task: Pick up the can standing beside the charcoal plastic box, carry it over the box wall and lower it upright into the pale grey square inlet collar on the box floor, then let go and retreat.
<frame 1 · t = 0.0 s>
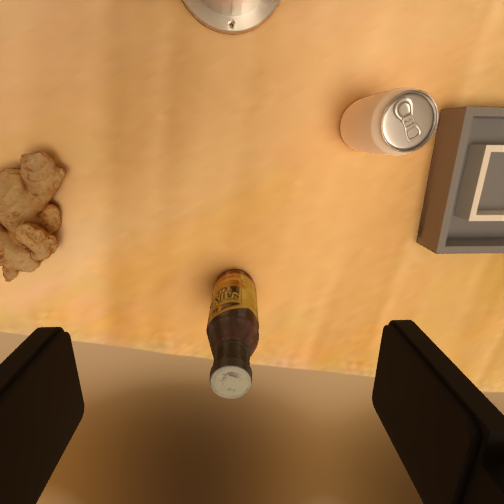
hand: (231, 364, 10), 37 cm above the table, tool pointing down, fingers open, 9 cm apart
can: (362, 125, 43), on the table
ginger root: (27, 216, 45), on the table
sauce bottle: (233, 287, 50), on the table
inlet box: (490, 180, 46), on the table
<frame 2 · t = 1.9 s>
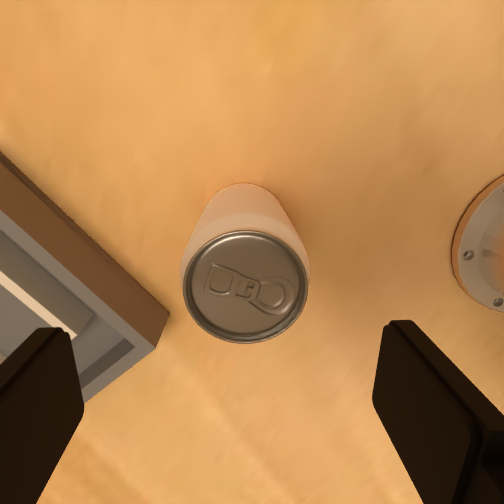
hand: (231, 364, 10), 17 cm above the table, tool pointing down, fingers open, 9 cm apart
can: (243, 222, 26), on the table
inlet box: (16, 302, 28), on the table
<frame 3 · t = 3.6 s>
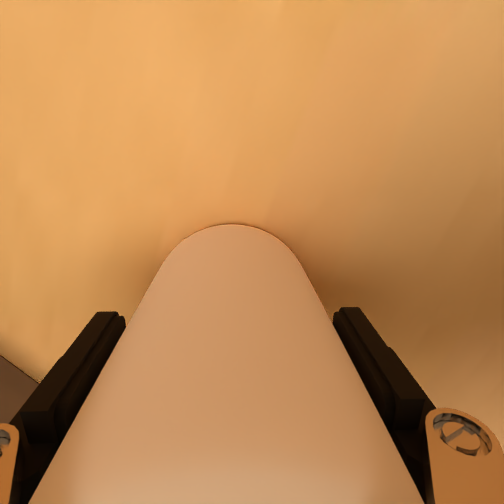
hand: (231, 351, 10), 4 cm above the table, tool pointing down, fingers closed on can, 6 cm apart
can: (232, 290, 15), on the table, touching gripper
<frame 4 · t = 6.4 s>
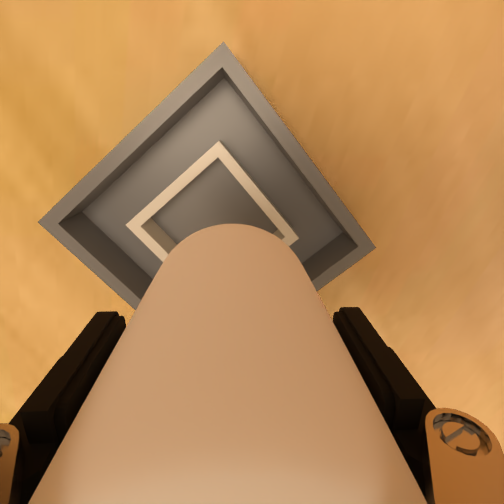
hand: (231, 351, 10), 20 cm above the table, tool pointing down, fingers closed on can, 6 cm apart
can: (232, 290, 15), point 16 cm above the table, touching gripper
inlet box: (216, 219, 30), on the table
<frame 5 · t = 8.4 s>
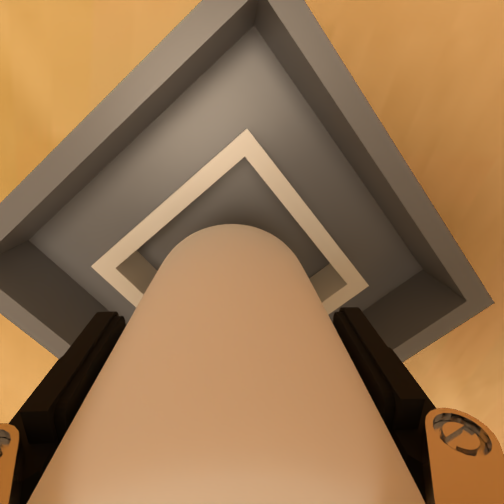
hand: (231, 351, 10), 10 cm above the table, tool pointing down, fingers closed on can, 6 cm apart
can: (232, 290, 15), point 6 cm above the table, touching gripper
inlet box: (234, 249, 20), on the table
when the fingers open (6 cm above the table, at t = 9.7 s): can stays where it is, resting on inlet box.
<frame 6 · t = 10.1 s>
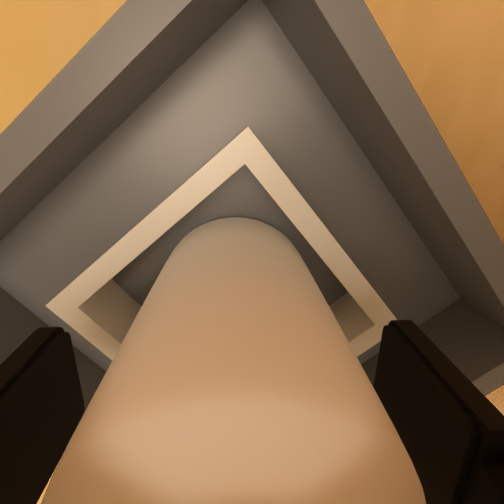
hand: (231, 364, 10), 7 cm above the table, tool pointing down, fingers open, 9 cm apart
can: (235, 280, 16), point 1 cm above the table, touching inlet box
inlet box: (232, 274, 16), on the table
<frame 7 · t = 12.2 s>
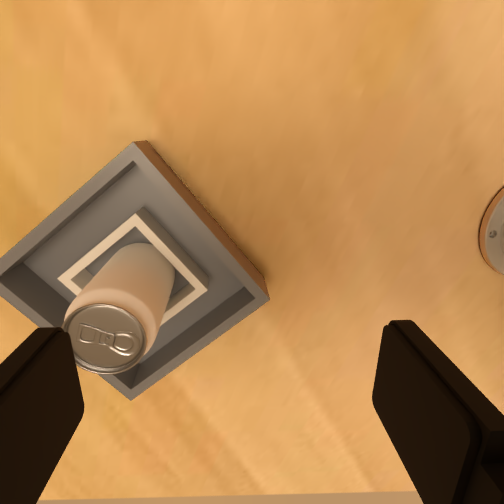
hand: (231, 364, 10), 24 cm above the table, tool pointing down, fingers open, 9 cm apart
can: (144, 270, 34), point 1 cm above the table, touching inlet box
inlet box: (144, 268, 34), on the table
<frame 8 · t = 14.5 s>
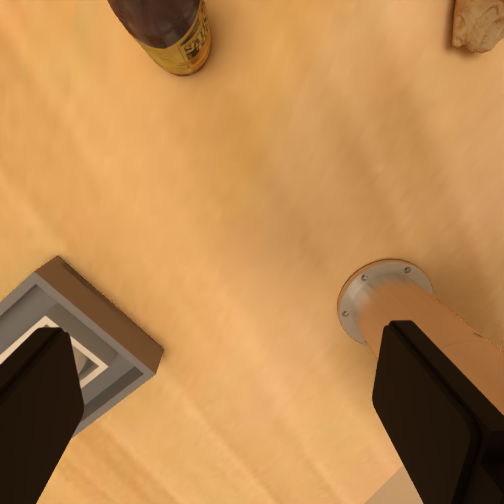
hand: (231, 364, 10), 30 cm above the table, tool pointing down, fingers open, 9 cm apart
sauce bottle: (181, 41, 33), on the table
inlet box: (67, 344, 44), on the table
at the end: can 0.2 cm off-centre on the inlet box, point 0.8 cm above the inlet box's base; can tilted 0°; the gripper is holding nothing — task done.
